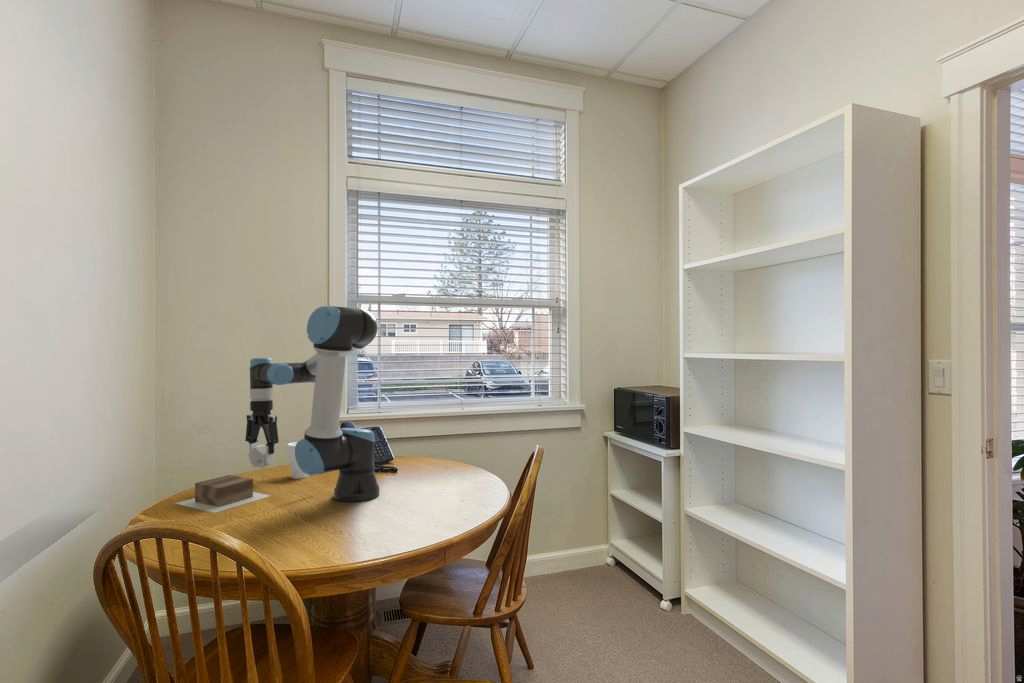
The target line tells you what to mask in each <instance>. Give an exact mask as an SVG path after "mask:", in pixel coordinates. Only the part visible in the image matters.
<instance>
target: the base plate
mask: <svg viewBox="0 0 1024 683" xmlns="http://www.w3.org/2000/svg"><path fill="white" fill-rule="evenodd" d="M269 497H271V494H266V493H265V494H264V493H259V492H257V491H256V492H255V491H253V497H252V498H248V499H245V500H241V501H238V502H234V503H231V504H228V505H224V506H221V507H216V506H212V505H207V504H203V503H199V502H195V497H193V498H189V499H187V500H186V499H185V500H183V501H182V500H181V501H179V502H175V503H174V504H177V505H180V506H185V507H188V508H192V509H196V510H201V511H203V512H204V511H205V512H210V513H214V514H215V513H218V512H222V511H225V510H228V509H233V508H236V507H238V506H243V505H245V504H249V503H251V502H255V501H258V500H259V501H260V500H262V499H265V498H269Z"/></svg>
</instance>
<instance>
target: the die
mask: <svg viewBox="0 0 1024 683" xmlns="http://www.w3.org/2000/svg"><path fill="white" fill-rule="evenodd" d="M275 458H276V457H275V453H274V454H273V461H274V460H275ZM248 459H249V461H250V463H251V465H252V467H254V468H260V469H263V468H266V467H267V466H269V465H270V464H271V463H268V464H266V444H258V446H256V447H254V448H253V449H252V451H251V452H250V451H249V453H248Z"/></svg>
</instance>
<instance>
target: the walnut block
mask: <svg viewBox="0 0 1024 683" xmlns="http://www.w3.org/2000/svg"><path fill="white" fill-rule="evenodd" d="M194 486H195V487H194V491H195V492H194V498H195V502H199V503H203V504H207V505H212V506H216V507H221V506H224V505H228V504H231V503H234V502H238V501H241V500H245V499H248V498H252V497H253V492H254V479H252V478H249V477H243V476H239V475H238V476H237V475H232V474H228V475H224V476H219V477H216V478H211V479H207V480H203V481H199V482H195V483H194Z"/></svg>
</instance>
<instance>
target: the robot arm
mask: <svg viewBox="0 0 1024 683" xmlns="http://www.w3.org/2000/svg"><path fill="white" fill-rule="evenodd" d="M306 334H307V338H308V340H309V341H310V342H311V343H313V349H314V350H315V351H316V353H315V354H314V355H312V356H311V357H310V358H308V359H307V360H306V361H304V362H303V361H302V362H277V363H276V362H275V363H274V362H273V359H272V357H254V358H253V357H252V358H251V359H250V362H249V364H250V365H249V387H250V388H249V399H250V401H249V406H250V407H249V410H250V411H251V412H252V413H251V414H247V415H246V430H245V439H244V440H245V442H247V443H249V453H250V452H251V451H252V449H253V448H254V447H256V446H258V445H259V441H258V438H259V435H260V434H259V433H260V430H261V428H262V431H263V433H264V437H265V438H264V439H265V441H266V444H265V445H266V464H268V463H270V464H273V463H274V460H273V454H274V455H275V445H276V444H278V443H279V433H278V432H279V431H278V425H277V423H278V422H277V421H278V416H277V415H272V413H271V411H272V410H273V406H274V405H273V404H274V401H273V389H274V388H273V386H274V385H276V386H282V385H283V386H284V385H289V384H301V383H302V384H303V383H304V384H305V383H314V388H313V395H312V396H313V399H312V405H311V406H312V408H311V419H310V426H309V427H308V428H306V429H305V430H304V435H303V436H304V437H303V438H302V439H300V440H298V441H296V442H297V444H296V446H295V458H296V461H297V464H298V466H299V468H300V469H301V470H302V472H304V473H305V474H307V475H309V476H316V475H323V474H325V473H329V472H330V473H331V472H334V471H339V472H338V477H337V481H336V484H335V488H334V489H333V498H334V500H336V501H338V502H343V503H344V502H345V503H347V502H349V503H351V502H352V503H353V502H354V503H355V502H364V501H369V500H373V499H375V498H377V497H378V496H379V495H380V485H379V483H378V481H377V477H376V473H375V447H376V446H375V444H376V441H375V440H376V439H375V433H374V431H373V430H371V429H366V428H358V427H357V428H356V427H342V428H340V427H339V426H340V416H341V409H342V408H341V407H342V398H343V389H344V378H345V371H346V370H345V369H346V362H347V360H346V359H347V357H348V356H349V355H351V354H352V353H353V352H355V351H357V350H361V349H364V348H365V347H367V346H368V345H369V344H371V343H372V342H373V341H374V339H376V335H377V334H378V322H377V320H376V318H375V316H374V315H373V314H372V313H371V312H370V311H368V310H367V309H364V308H361V307H347V306H345V307H344V306H335V305H328V306H327V305H325V306H324V305H323V306H319V307H317V308H316V309H314V311H313V312H312V313H311V314H310V316H309V318H308V320H307V324H306Z"/></svg>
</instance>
